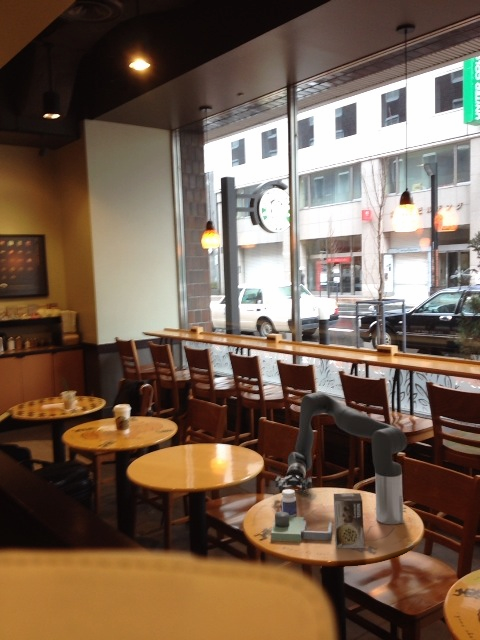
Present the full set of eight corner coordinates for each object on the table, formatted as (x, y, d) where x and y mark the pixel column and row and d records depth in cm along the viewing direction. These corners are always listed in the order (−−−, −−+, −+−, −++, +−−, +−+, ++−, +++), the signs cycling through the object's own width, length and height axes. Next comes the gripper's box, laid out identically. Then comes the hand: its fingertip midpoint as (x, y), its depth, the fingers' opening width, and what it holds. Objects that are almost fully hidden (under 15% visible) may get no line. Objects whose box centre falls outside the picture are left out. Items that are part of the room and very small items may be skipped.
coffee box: (362, 539, 195) (361, 492, 193) (364, 548, 188) (363, 500, 187) (334, 539, 195) (333, 492, 194) (335, 548, 189) (334, 500, 188)
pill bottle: (300, 518, 214) (299, 491, 213) (288, 522, 211) (287, 495, 210) (290, 513, 219) (289, 487, 218) (278, 517, 216) (277, 490, 215)
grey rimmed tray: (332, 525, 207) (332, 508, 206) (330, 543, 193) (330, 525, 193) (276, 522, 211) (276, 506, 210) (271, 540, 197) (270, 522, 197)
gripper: (278, 465, 242) (273, 478, 226) (313, 466, 239) (309, 479, 223) (279, 482, 243) (273, 497, 227) (313, 483, 240) (310, 498, 224)
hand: (291, 488), depth 225 cm, fingers open, 8 cm apart
